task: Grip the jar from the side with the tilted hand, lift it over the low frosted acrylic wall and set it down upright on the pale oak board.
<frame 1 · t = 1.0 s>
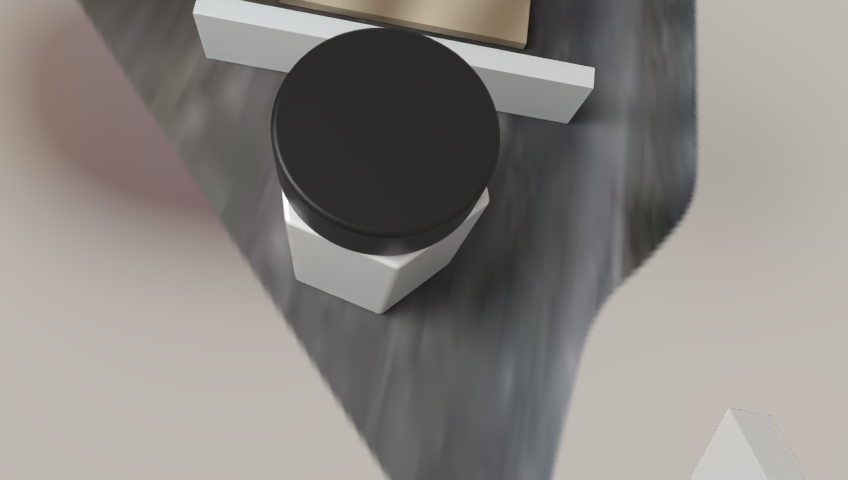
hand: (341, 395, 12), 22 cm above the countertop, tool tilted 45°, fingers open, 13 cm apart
acrylic wall: (392, 81, 38), on the countertop
jar: (368, 230, 36), on the countertop
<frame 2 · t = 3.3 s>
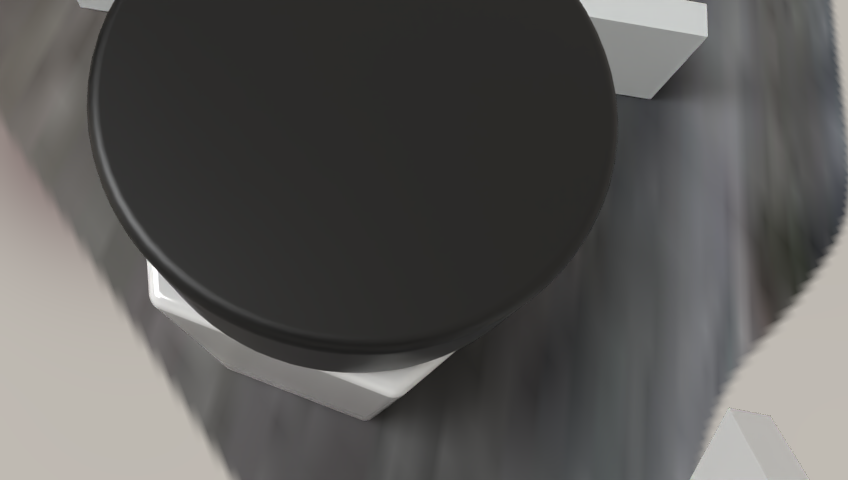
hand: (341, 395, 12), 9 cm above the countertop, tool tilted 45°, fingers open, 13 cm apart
acrylic wall: (379, 40, 24), on the countertop
jar: (345, 277, 22), on the countertop
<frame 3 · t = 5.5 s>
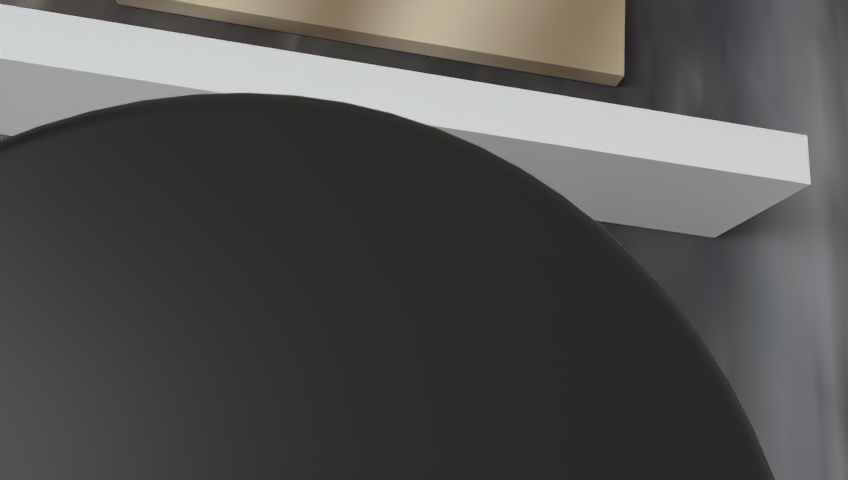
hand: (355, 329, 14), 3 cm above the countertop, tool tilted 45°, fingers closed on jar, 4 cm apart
acrylic wall: (355, 164, 18), on the countertop
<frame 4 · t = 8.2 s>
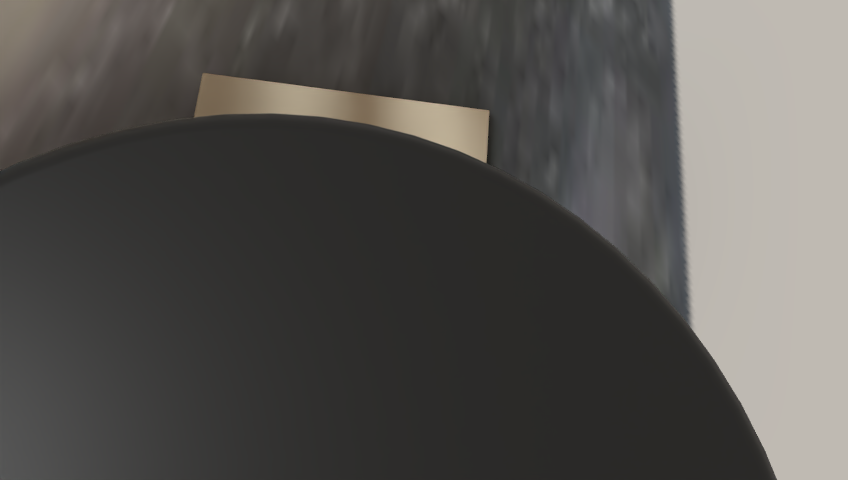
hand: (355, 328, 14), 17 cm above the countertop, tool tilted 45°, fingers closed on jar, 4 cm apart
oak board: (331, 231, 32), on the countertop
when the fingers open (4 cm above the countertop, at t = 10.9 s): jar stays where it is, resting on oak board.
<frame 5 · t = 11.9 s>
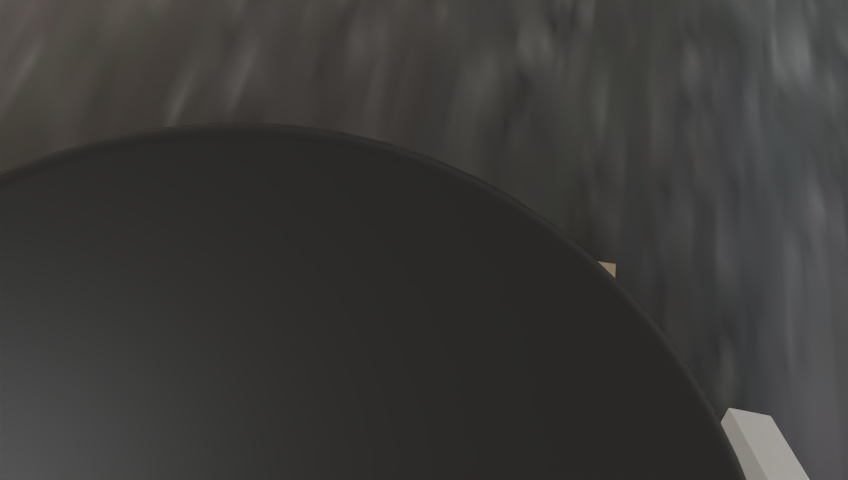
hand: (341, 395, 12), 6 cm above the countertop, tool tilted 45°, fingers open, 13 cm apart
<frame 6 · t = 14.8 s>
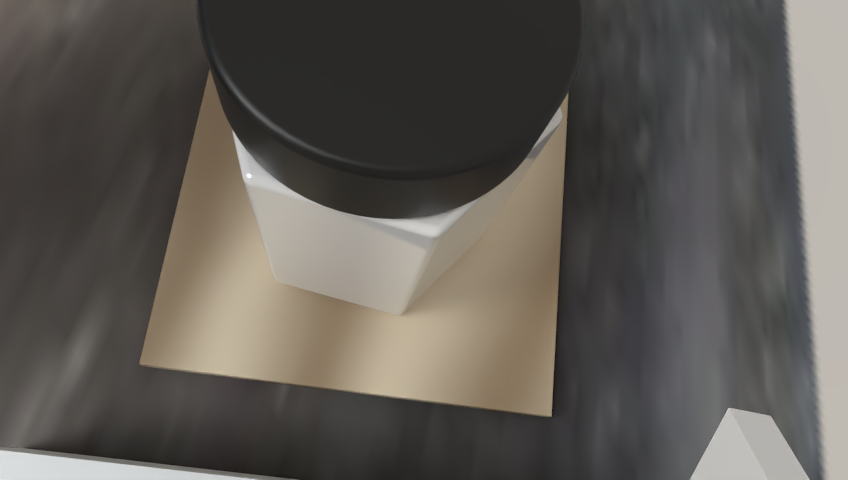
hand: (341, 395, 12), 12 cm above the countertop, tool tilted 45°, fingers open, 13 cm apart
jar: (367, 202, 26), resting on oak board
oak board: (376, 205, 26), on the countertop
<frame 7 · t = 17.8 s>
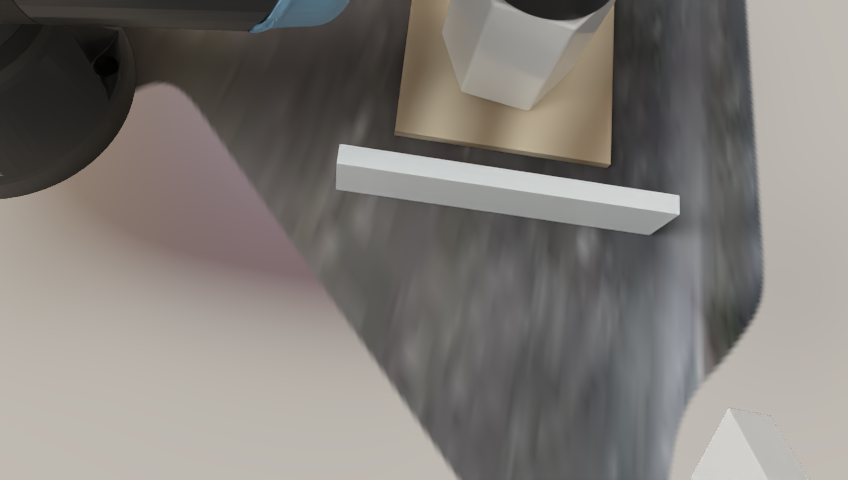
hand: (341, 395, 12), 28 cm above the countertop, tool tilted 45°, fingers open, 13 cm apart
acrylic wall: (496, 203, 44), on the countertop
jar: (505, 54, 46), resting on oak board
oak board: (509, 57, 47), on the countertop
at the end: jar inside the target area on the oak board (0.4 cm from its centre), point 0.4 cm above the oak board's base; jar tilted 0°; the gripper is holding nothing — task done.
